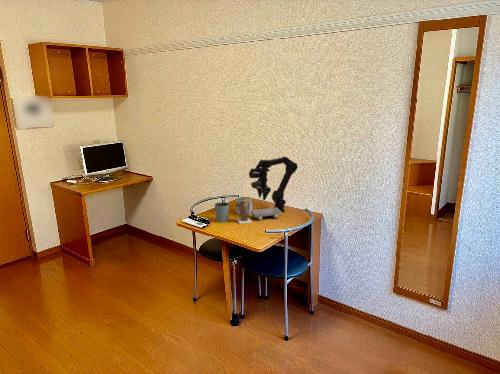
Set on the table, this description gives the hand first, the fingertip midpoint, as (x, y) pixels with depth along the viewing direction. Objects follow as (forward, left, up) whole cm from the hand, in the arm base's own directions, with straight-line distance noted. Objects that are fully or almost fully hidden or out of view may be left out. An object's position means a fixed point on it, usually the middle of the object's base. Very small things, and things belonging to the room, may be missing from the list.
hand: (261, 198), depth 278 cm
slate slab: (-1, +5, -13) cm, 14 cm away
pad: (+16, +8, -13) cm, 22 cm away
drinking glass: (+30, 0, -13) cm, 32 cm away
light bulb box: (+11, -10, -13) cm, 19 cm away
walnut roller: (+16, +8, -12) cm, 21 cm away
